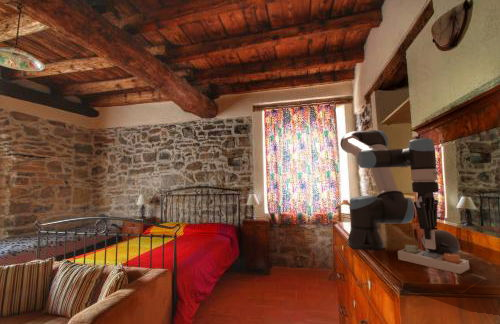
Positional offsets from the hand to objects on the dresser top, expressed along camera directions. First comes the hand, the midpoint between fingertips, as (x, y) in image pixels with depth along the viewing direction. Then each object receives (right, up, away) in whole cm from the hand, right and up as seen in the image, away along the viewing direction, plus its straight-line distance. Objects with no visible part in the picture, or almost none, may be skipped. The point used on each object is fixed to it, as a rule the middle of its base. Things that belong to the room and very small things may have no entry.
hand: (430, 248), depth 80 cm
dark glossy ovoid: (+13, -2, +9) cm, 16 cm away
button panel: (0, -6, 0) cm, 6 cm away
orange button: (+3, -3, -5) cm, 7 cm away
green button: (-3, -4, +5) cm, 7 cm away
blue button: (0, -4, 0) cm, 4 cm away
